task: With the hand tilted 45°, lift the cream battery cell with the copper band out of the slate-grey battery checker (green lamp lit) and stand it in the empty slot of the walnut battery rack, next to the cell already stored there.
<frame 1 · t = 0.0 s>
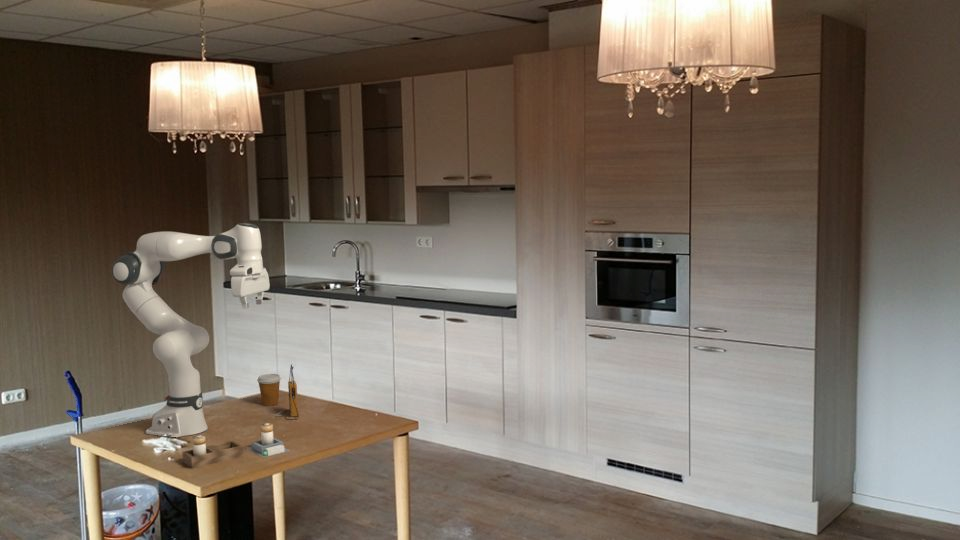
hand: (252, 306, 305), 48 cm above the table, tool pointing down, fingers open, 8 cm apart
rack: (213, 462, 282), on the table
multimeter: (284, 416, 335), on the table
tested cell: (268, 449, 291), point 1 cm above the table, touching checker
loaded cell: (200, 462, 279), point 1 cm above the table, touching rack
checker: (268, 452, 291), on the table
disposable coffee cup: (270, 404, 354), on the table
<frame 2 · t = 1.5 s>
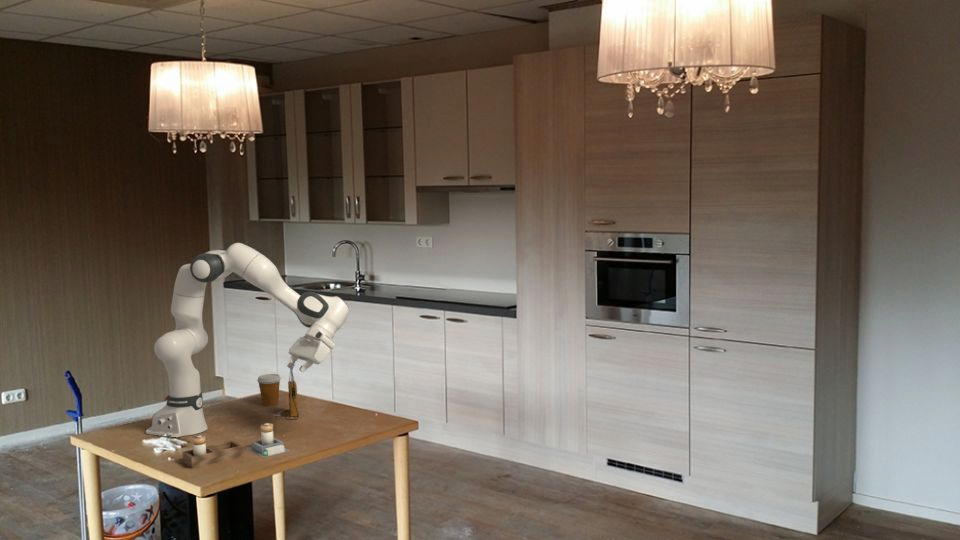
hand: (295, 369, 297), 27 cm above the table, tool tilted 45°, fingers open, 8 cm apart
nothing on the table moved.
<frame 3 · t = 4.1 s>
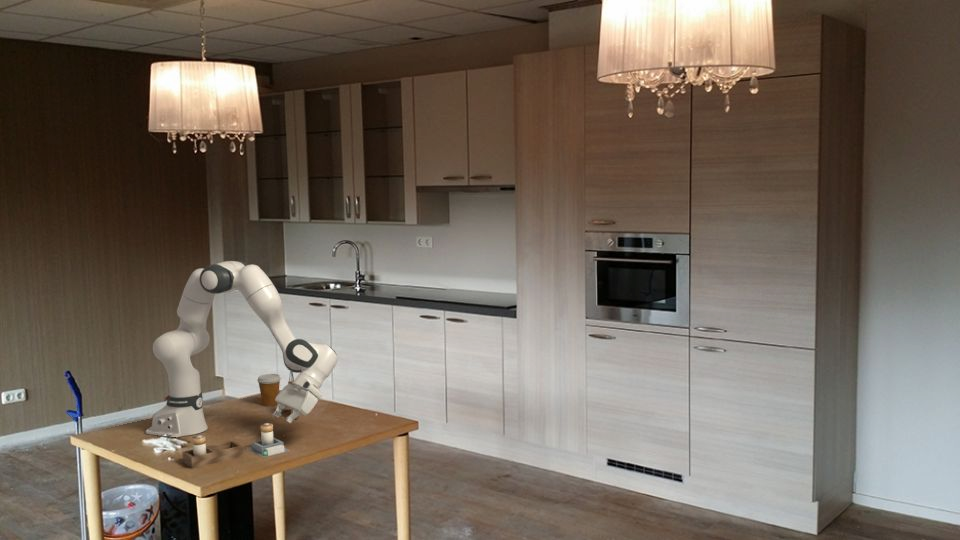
hand: (281, 418, 293), 11 cm above the table, tool tilted 45°, fingers open, 8 cm apart
nothing on the table moved.
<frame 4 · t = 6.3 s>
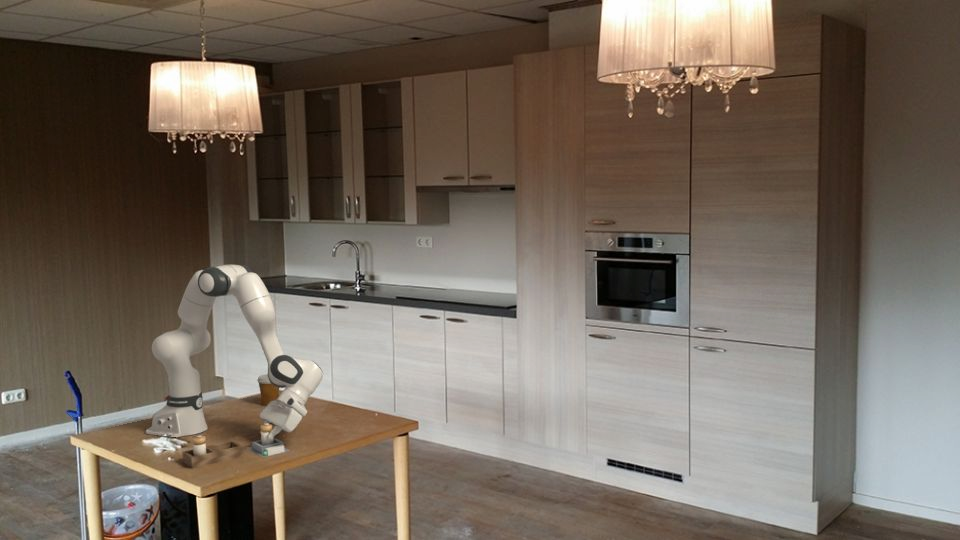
hand: (265, 436, 290), 6 cm above the table, tool tilted 45°, fingers closed on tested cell, 4 cm apart
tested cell: (268, 449, 291), point 1 cm above the table, touching checker, gripper
everything else where it was.
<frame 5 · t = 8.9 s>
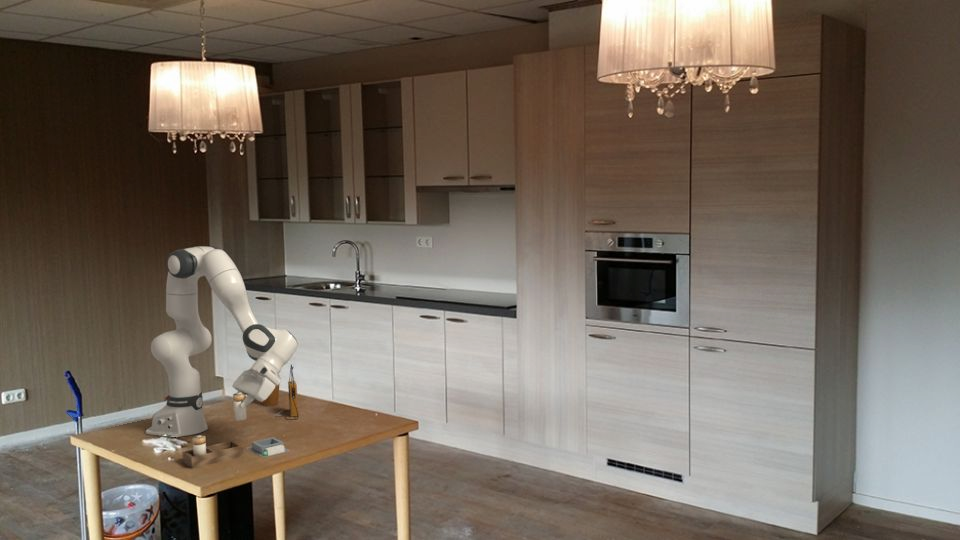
hand: (237, 405, 285), 18 cm above the table, tool tilted 45°, fingers closed on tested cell, 4 cm apart
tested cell: (240, 418, 286), point 13 cm above the table, touching gripper
everything else where it was.
when the fingers open (7 cm above the table, at t = 11.7 s): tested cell drops 2 cm, resting on rack.
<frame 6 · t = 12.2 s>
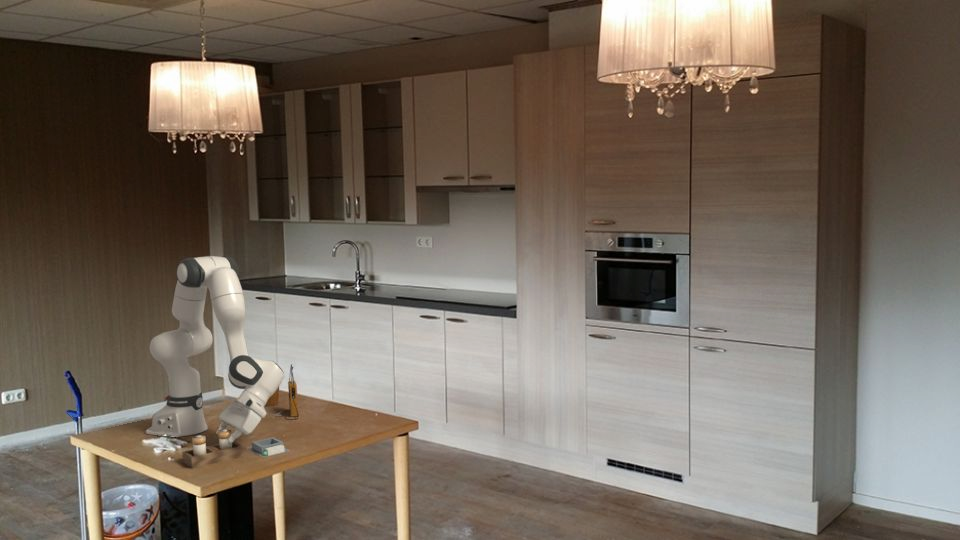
hand: (223, 438, 283), 7 cm above the table, tool tilted 45°, fingers open, 8 cm apart
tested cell: (226, 455, 284), point 1 cm above the table, touching rack
everything else where it was.
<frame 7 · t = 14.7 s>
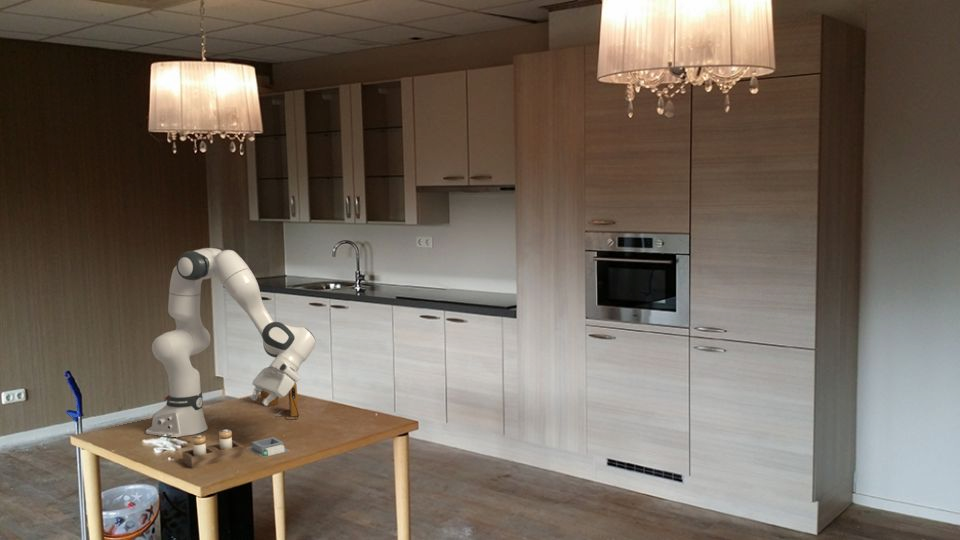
hand: (258, 401, 290), 17 cm above the table, tool tilted 45°, fingers open, 8 cm apart
nothing on the table moved.
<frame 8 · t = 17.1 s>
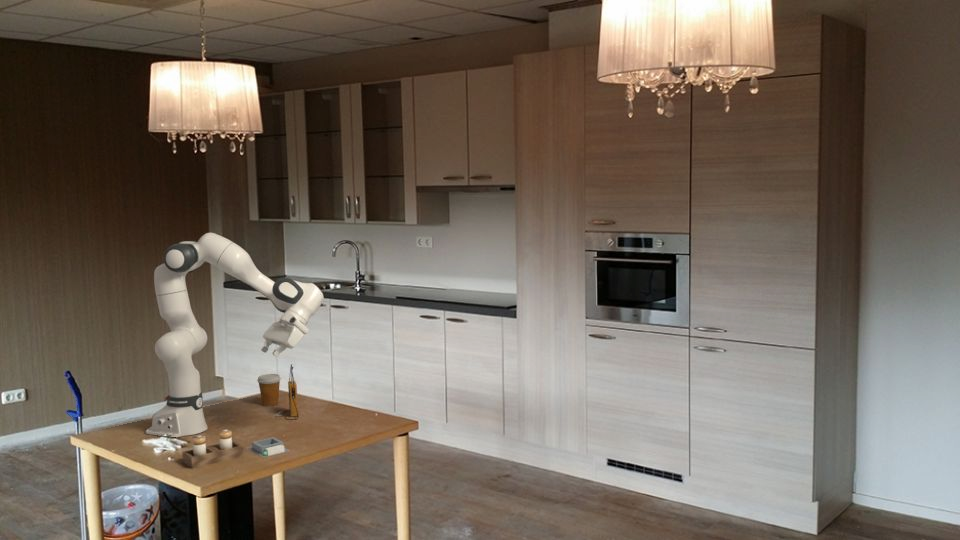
hand: (268, 353, 303), 31 cm above the table, tool tilted 45°, fingers open, 8 cm apart
nothing on the table moved.
at the end: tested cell 0.1 cm from the target spot, point 1.0 cm above the table; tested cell tilted 0°; the gripper is holding nothing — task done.
